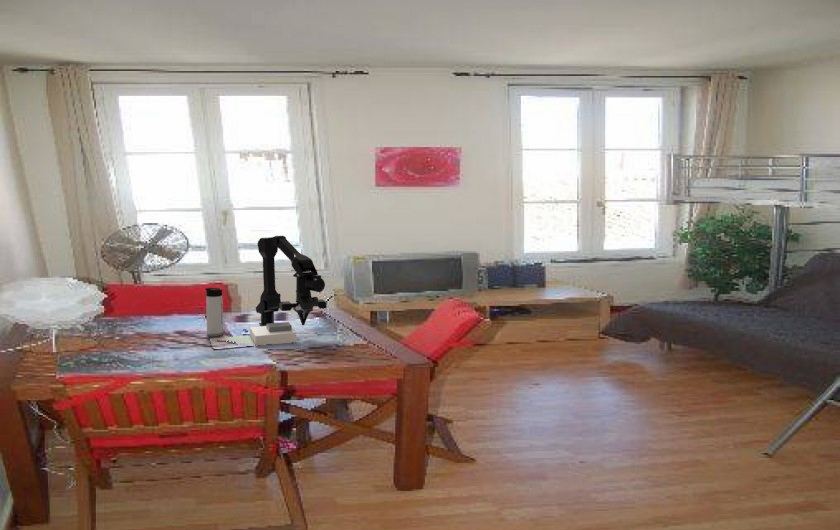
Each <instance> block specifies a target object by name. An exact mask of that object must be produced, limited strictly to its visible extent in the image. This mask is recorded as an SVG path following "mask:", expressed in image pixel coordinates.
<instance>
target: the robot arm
mask: <svg viewBox="0 0 840 530" xmlns="http://www.w3.org/2000/svg"><path fill="white" fill-rule="evenodd" d="M257 248H258V253H259V254H260V256H261V257H262V275H263V277H262V278H263V279H262V281H263V291H262V293H261V295H260V298H259V300H260V301H259V302H258V304H257V306H256V307H255V312H256V313H257V314H259V315H260V322H259V323H258V325H259V324H260V325H259V326H266V324H269V323H275V312H279V311H282V312H289V311H291V310H292V309H293V311H294V312H296V313H297V316H298V317H299V321H300V323H301V325H302V326H305V324H306V321H307V319H308V316H309V315H310V313H311V312H313V311H314V307H318V309H321V310H322V309H327V307H328V306H327V305H328V303H327V302H326V301H325V300H324V299H323V298H321V299H320V298H318V296H312V292H316V293H321V292H323V291H324V289H325V287H326V282H325V280H324V279H323V277H322V275H320V274H318V270H317V269H316V266H315V264H314V261H313V260H312V258H310V257H309V256H307V255H305V254H302V253H300V251H298V250H297V248H296V247H294V246H293V244H291V242H290V241H289V240H288V239H287V237H286V236H284V235H275V236H271V237H270V236H269V237H260V238H259V239H258V241H257ZM279 250H280V251H281V252H282V253H283V254H284V255H285V256H286V257H287V258H288V259H289V261H290V263H291V264H290V265H291V267H292V269H294V270H293V271H295V273H294V274H293V275H292V277H294V278H296V283H295V284H296V285H295V286H296V290H295V293H296V295H295V296H296V297H295V303H292V302H290V301H289V300H288V301H287V300H286V301H282V299H281V296H282V295H281V293H278V292H277V289H276V269H275V267H276V266H275V265H276V264H275V257H276V255H277V253H278V251H279ZM311 291H312V292H311Z"/></svg>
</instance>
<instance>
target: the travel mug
mask: <svg viewBox="0 0 840 530" xmlns="http://www.w3.org/2000/svg"><path fill="white" fill-rule="evenodd" d="M205 291H206V292H205V298H206V299H205V303H206V307H205V308H206V309H205V310H206V335H207V336H208V337H220V336H219V335H221V336H222V335H223V334H224V320H223V319H224V315H223V314H224V312H223V311H224V310H223V308H224V307H223V304H224V303H223V302H224V301H223V289H222V288H218V287H205Z"/></svg>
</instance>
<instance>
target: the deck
mask: <svg viewBox="0 0 840 530" xmlns="http://www.w3.org/2000/svg"><path fill="white" fill-rule="evenodd" d="M249 337H251V338H250V339H251V341H252V340H253V341H252V342H254V343H253V344H254V346H255V345H261V346H267V345H266V344H272V345H281V344H291V343H292V342H293V343H297V331H296V330H295V329H294V328H293V327H292V330H289V331H277V332H269V331H268V330H267V329H266V326H260V325H259V326H251V327H249Z"/></svg>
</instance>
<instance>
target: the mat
mask: <svg viewBox="0 0 840 530" xmlns="http://www.w3.org/2000/svg"><path fill="white" fill-rule="evenodd" d="M220 339H224V340H226V342H227V341H228V340H229V342H231V341H232V342H233V343H234V341H235V342H236V343H242V344H243V343H245V344H246V343H247V344H248V345H251V346H252V345H253V346H254V347H255V344H254V343H253V341H252V339H251V338H250V335H239V336H224V337H213V338H209V341H211V342H214V341H217V340H220ZM211 342H210V343H211Z"/></svg>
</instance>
